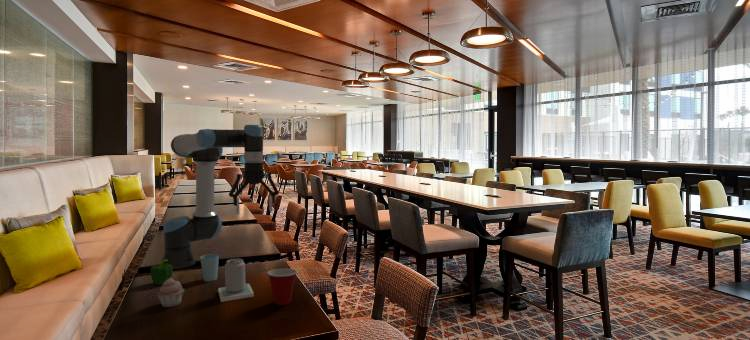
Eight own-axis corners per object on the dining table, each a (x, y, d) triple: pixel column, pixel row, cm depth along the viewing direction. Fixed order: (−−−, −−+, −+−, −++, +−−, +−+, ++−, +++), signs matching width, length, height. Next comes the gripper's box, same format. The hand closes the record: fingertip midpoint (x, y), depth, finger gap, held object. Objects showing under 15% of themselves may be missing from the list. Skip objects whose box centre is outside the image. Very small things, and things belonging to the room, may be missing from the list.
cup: (218, 275, 186) (217, 252, 185) (221, 280, 179) (220, 256, 178) (200, 278, 182) (199, 255, 181) (202, 283, 175) (201, 259, 174)
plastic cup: (303, 298, 156) (302, 267, 155) (288, 309, 146) (287, 276, 145) (278, 295, 160) (277, 265, 159) (262, 306, 150) (261, 273, 149)
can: (228, 287, 165) (227, 257, 165) (247, 286, 166) (246, 257, 165) (223, 293, 158) (222, 263, 157) (243, 293, 158) (242, 262, 158)
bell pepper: (150, 288, 170) (149, 264, 170) (151, 282, 178) (150, 259, 177) (172, 285, 174) (171, 261, 173) (173, 279, 181) (172, 257, 181)
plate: (218, 291, 165) (218, 287, 165) (249, 287, 170) (249, 283, 170) (220, 302, 154) (220, 297, 154) (253, 296, 159) (253, 292, 159)
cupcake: (188, 298, 158) (187, 273, 157) (181, 308, 149) (180, 281, 148) (162, 300, 156) (161, 274, 156) (153, 310, 147) (152, 282, 147)
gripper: (223, 162, 162) (224, 215, 164) (285, 161, 173) (286, 211, 175) (221, 161, 169) (222, 212, 171) (281, 160, 180) (281, 208, 182)
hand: (254, 212), depth 173 cm, fingers open, 13 cm apart
